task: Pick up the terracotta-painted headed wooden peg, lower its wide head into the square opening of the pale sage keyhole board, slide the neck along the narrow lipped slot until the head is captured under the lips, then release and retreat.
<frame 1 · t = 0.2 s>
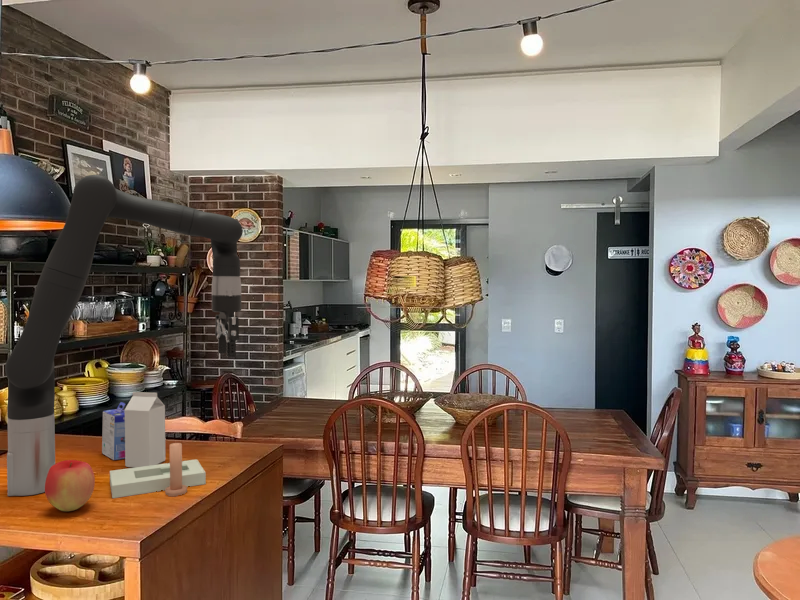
hand: (226, 355, 158), 29 cm above the kitchen island, fingers open, 8 cm apart
apple: (71, 510, 126), on the kitchen island
milk carton: (145, 464, 158), on the kitchen island
keyhole board: (157, 483, 143), on the kitchen island
ink cartridge box: (118, 456, 166), on the kitchen island
headed peg: (176, 492, 136), on the kitchen island
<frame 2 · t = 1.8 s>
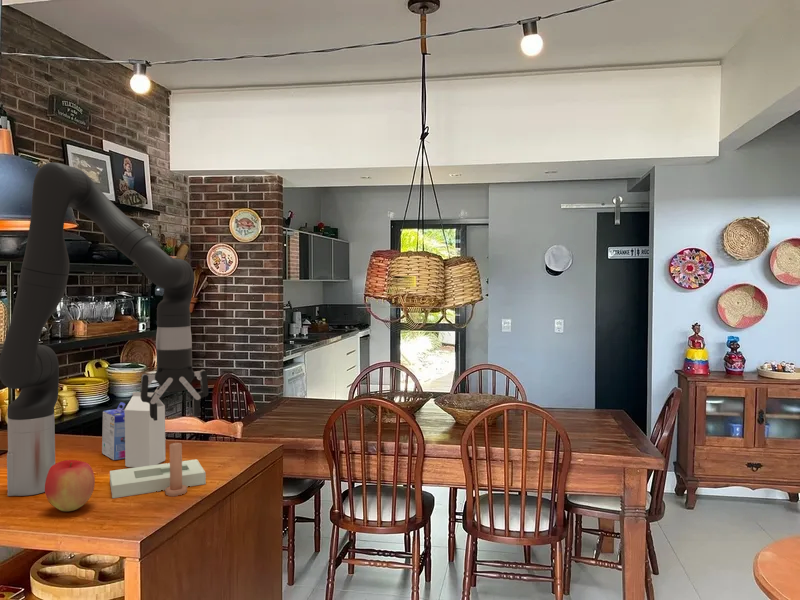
hand: (175, 417, 136), 17 cm above the kitchen island, fingers open, 8 cm apart
nothing on the kitchen island moved.
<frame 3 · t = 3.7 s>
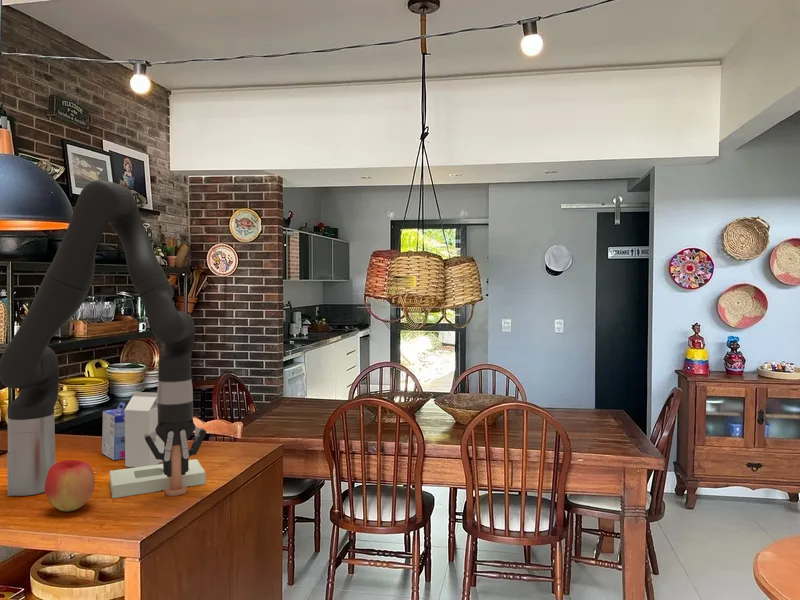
hand: (176, 474, 136), 4 cm above the kitchen island, fingers closed on headed peg, 2 cm apart
headed peg: (176, 492, 136), on the kitchen island, touching gripper
everything else where it was.
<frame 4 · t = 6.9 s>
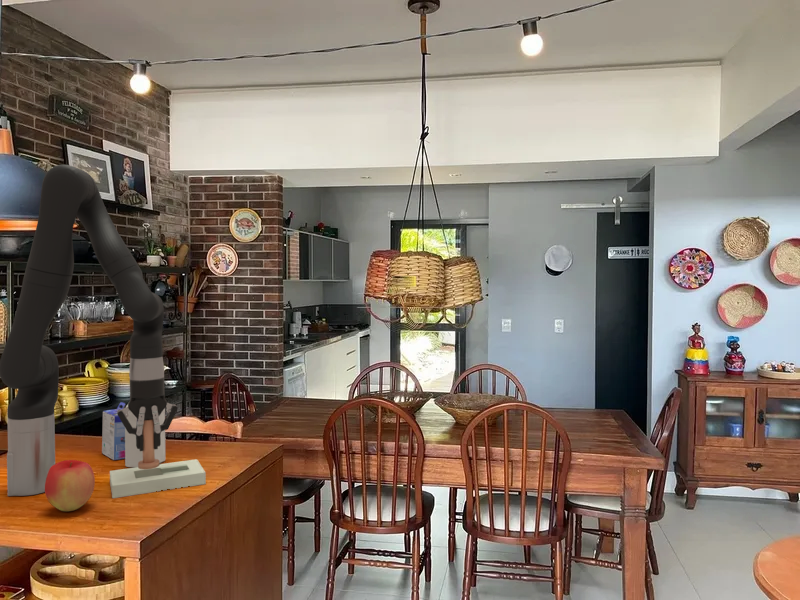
hand: (148, 449, 141), 9 cm above the kitchen island, fingers closed on headed peg, 2 cm apart
headed peg: (148, 466, 142), point 4 cm above the kitchen island, touching gripper
everything else where it was.
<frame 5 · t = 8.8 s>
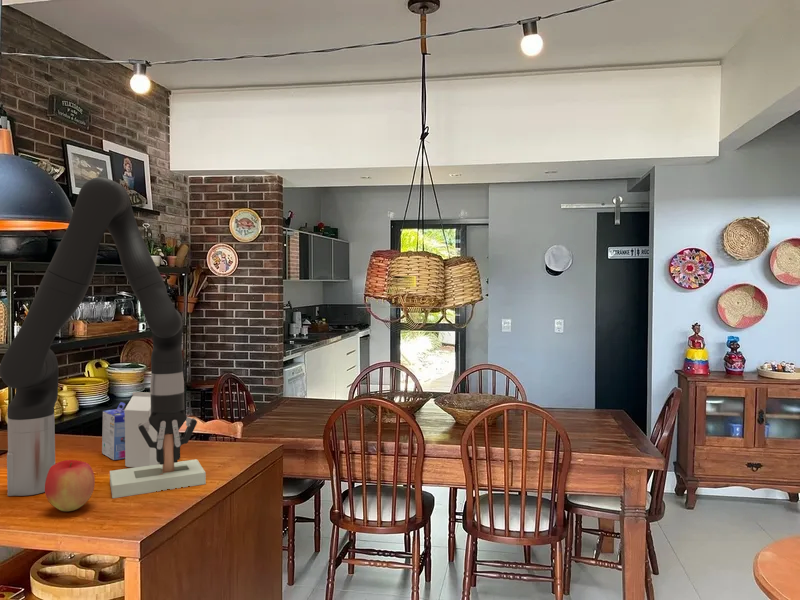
hand: (168, 462, 144), 5 cm above the kitchen island, fingers closed on headed peg, 2 cm apart
headed peg: (168, 479, 144), point 1 cm above the kitchen island, touching gripper
everything else where it was.
when the fingers open (5 cm above the kitchen island, at t = 10.2 s): headed peg stays where it is, resting in keyhole board.
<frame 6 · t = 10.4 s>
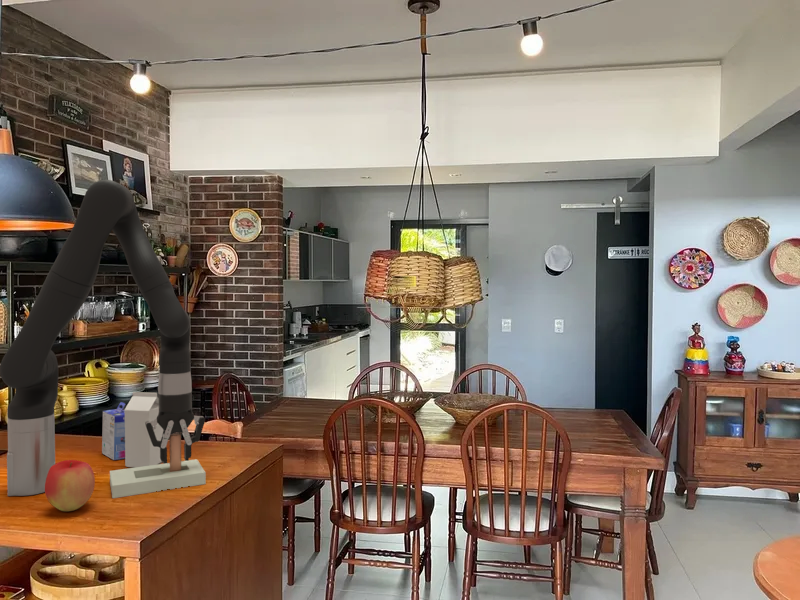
hand: (176, 460, 145), 5 cm above the kitchen island, fingers open, 4 cm apart
headed peg: (175, 480, 145), resting in keyhole board
everything else where it was.
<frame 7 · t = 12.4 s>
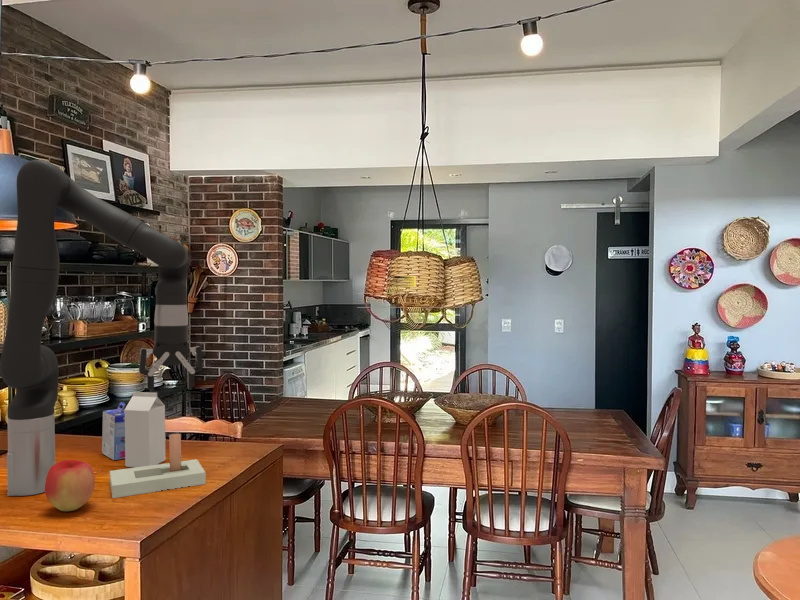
hand: (171, 390, 145), 22 cm above the kitchen island, fingers open, 8 cm apart
nothing on the kitchen island moved.
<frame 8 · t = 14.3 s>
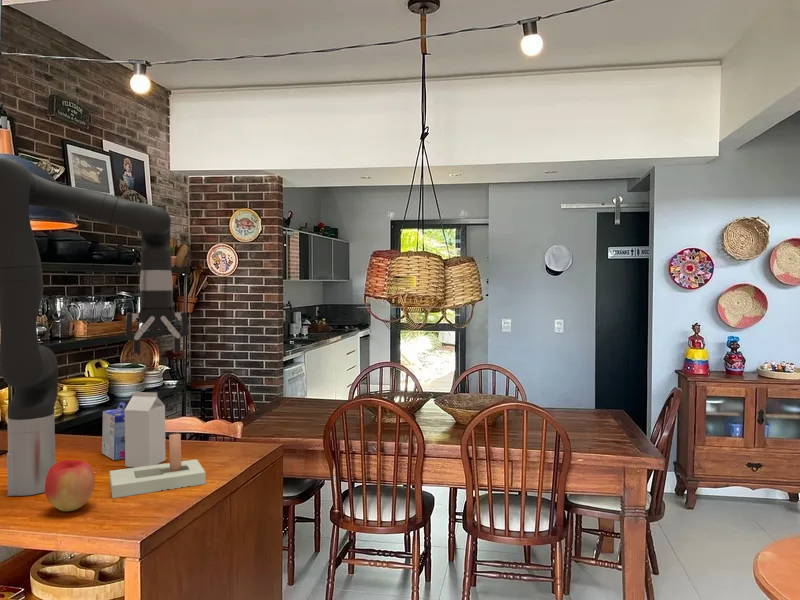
hand: (157, 354, 149), 30 cm above the kitchen island, fingers open, 8 cm apart
nothing on the kitchen island moved.
at the end: headed peg 0.9 cm from the target spot on the keyhole board, point 0.0 cm above the keyhole board's base; headed peg tilted 0°; the gripper is holding nothing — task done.
